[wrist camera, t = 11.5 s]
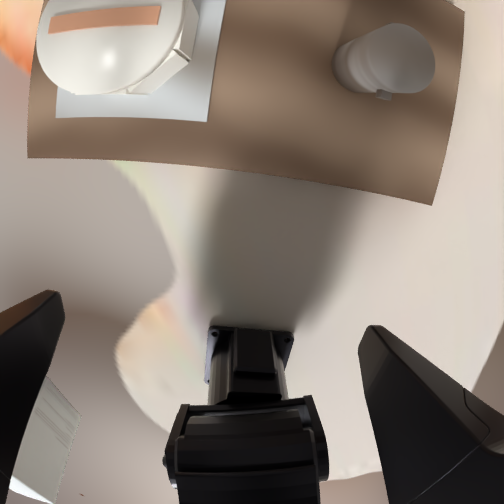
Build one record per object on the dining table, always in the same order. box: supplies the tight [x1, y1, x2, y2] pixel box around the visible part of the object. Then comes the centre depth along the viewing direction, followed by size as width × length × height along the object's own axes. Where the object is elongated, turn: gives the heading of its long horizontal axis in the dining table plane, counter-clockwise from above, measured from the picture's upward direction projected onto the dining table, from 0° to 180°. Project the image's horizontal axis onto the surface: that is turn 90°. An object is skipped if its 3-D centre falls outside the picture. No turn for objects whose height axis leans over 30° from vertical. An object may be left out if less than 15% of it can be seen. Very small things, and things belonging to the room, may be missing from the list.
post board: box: [27, 0, 465, 206], centre depth 12 cm, size 14×26×7 cm, turn 82°
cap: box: [36, 0, 199, 95], centre depth 11 cm, size 7×7×5 cm
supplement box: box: [9, 376, 81, 504], centre depth 23 cm, size 7×7×13 cm
